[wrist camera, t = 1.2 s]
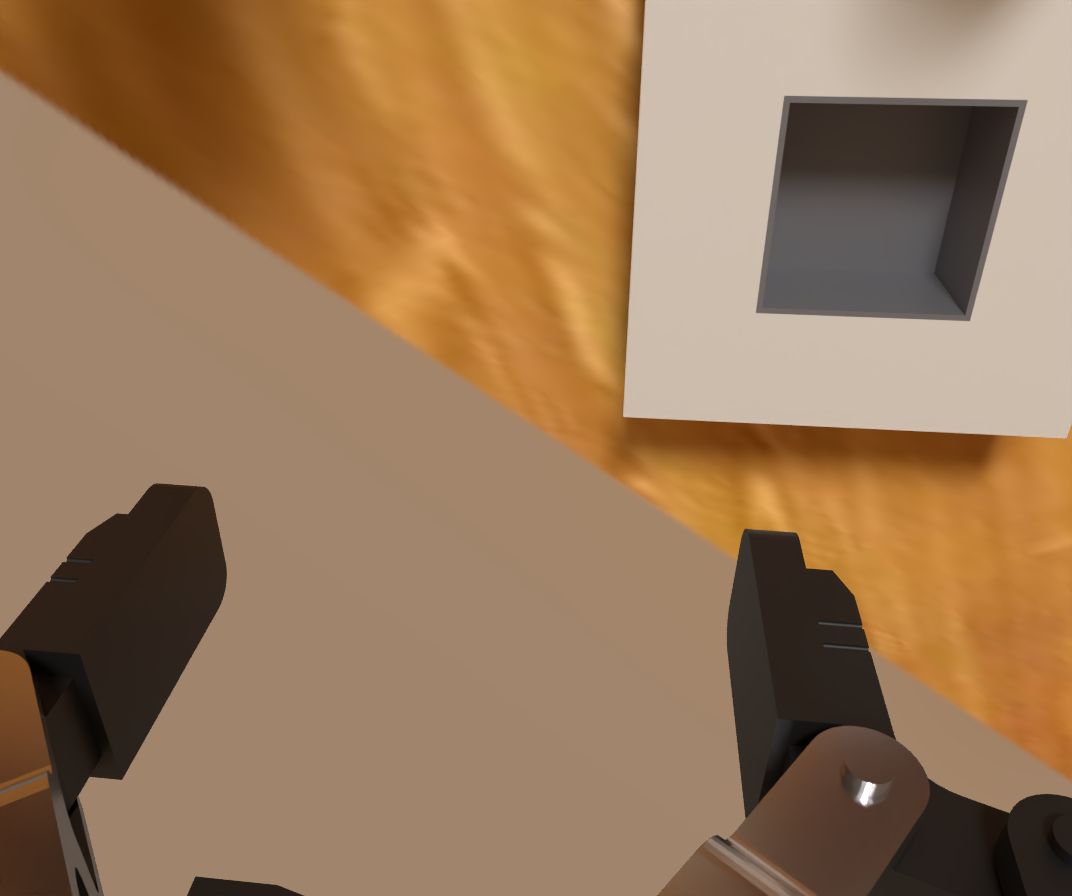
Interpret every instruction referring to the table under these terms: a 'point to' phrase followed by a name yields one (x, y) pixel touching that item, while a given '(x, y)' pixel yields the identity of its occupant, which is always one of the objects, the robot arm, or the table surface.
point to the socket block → (854, 215)
